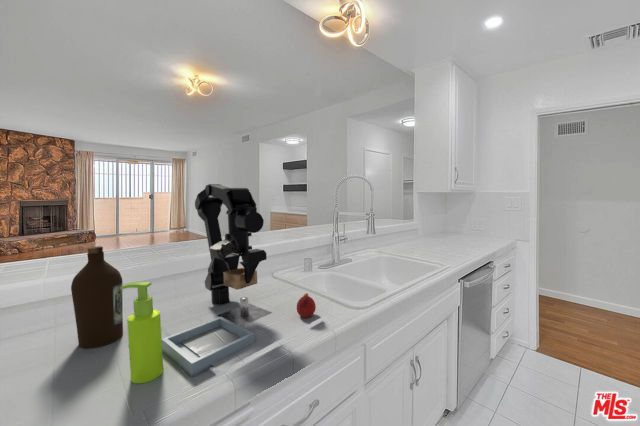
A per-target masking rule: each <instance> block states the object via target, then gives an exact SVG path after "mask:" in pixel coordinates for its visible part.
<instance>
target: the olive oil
mask: <svg viewBox="0 0 640 426" xmlns="http://www.w3.org/2000/svg"><path fill="white" fill-rule="evenodd" d="M103 249H104V247H103V246H102V245H99V246H98V245H97V246H91V247H87V254H86V255H87V263H86V264H85V265H84V266H83V268H81V269H80V271H78V272H77V273H76V274H75V276H74V277H73V278H72V281H71V286H70V289H71V290H70V292H71V296H72V297H71V298H72V305H73V310H74V318H75V325H76V331H77V332H76V333H77V342H78V343H77V344H78V346H79V348H83V349H94V348H99V347H103V346H107V345H109V344H111V343H114V342H115V341H117V340H119V339H120V338H121V337H122V336H123V334H124V324H123V323H124V322H123V320H124V319H123V317H124V316H123V312H124V311H123V289H121V288H120V287H122V286H123V277H122V275H121V272H120V271H119V270H118V269H117V268H115V267H114V266H113V265H111V264H110V263H109V262H107V261H106V260H105V254H104V253H105V251H103Z"/></svg>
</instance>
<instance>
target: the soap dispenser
mask: <svg viewBox="0 0 640 426" xmlns="http://www.w3.org/2000/svg"><path fill="white" fill-rule="evenodd" d="M150 286H152V281H134V282H129V283H126V284H124V285H123V284H122V287H120V288H121V289H122V290H124V289H130V288H131V289H132V288H133V289H134V288H137V297H136V298H134V299H133V313H132V314H130V315H129V316H127V317H126V321H127V338H128V350H129V352H128V353H129V365H130V367H129V368H130V381H131V382H132V383H133V384H145V383H148V382H151V381H154V380H155V379H157V378H159V377H160V376H161V375H162V373H164V361H163V360H164V359H163V351H162V339H163V338H162V324H161V322H162V321H161V311H160V310H159V309H154V303H153V302H154V301H153V296H151V295H148V288H149V287H150Z"/></svg>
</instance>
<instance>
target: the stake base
mask: <svg viewBox="0 0 640 426" xmlns="http://www.w3.org/2000/svg"><path fill="white" fill-rule="evenodd" d="M239 301H240V302H239V304H240V306H239V307H236V308H233V309H231V310H228V311H225V312H222V313H219V314H216V316H217V317H218V318H219V317H223V318H225V319H227V320H229V321H231V322H233V323H235V324H237V325H239V326H241V327H243V326H245V325H248V324H249V323H252V322H255V321H257V320H259V319H261V318H263V317H266V316H268V315H270V314H273V312H271V311H269V310H267V309H264V308H262V307H259V306H256V305H255V304H252V303H249V297H247V296H243V297H240V298H239Z"/></svg>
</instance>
